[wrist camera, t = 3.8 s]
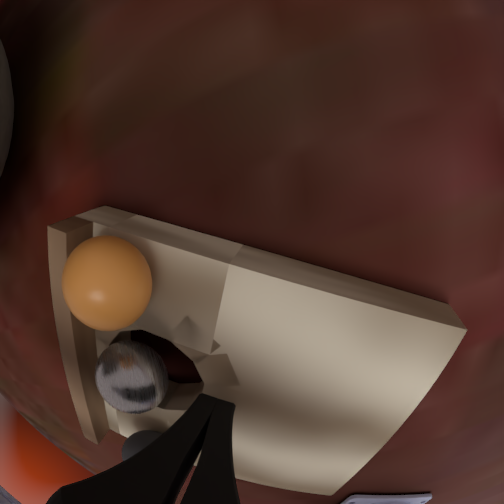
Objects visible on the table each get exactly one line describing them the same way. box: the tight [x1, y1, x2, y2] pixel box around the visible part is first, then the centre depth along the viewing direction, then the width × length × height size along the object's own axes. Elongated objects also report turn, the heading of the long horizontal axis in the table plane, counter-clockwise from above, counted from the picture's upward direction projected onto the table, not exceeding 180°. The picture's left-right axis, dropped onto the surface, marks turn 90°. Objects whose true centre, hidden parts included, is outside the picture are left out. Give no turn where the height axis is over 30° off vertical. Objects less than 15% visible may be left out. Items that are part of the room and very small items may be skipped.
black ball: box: [122, 430, 162, 461], centre depth 12 cm, size 3×3×3 cm
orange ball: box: [62, 235, 152, 331], centre depth 9 cm, size 3×3×3 cm
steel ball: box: [95, 340, 169, 414], centre depth 11 cm, size 3×3×3 cm
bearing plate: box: [48, 206, 467, 495], centre depth 12 cm, size 13×15×4 cm
